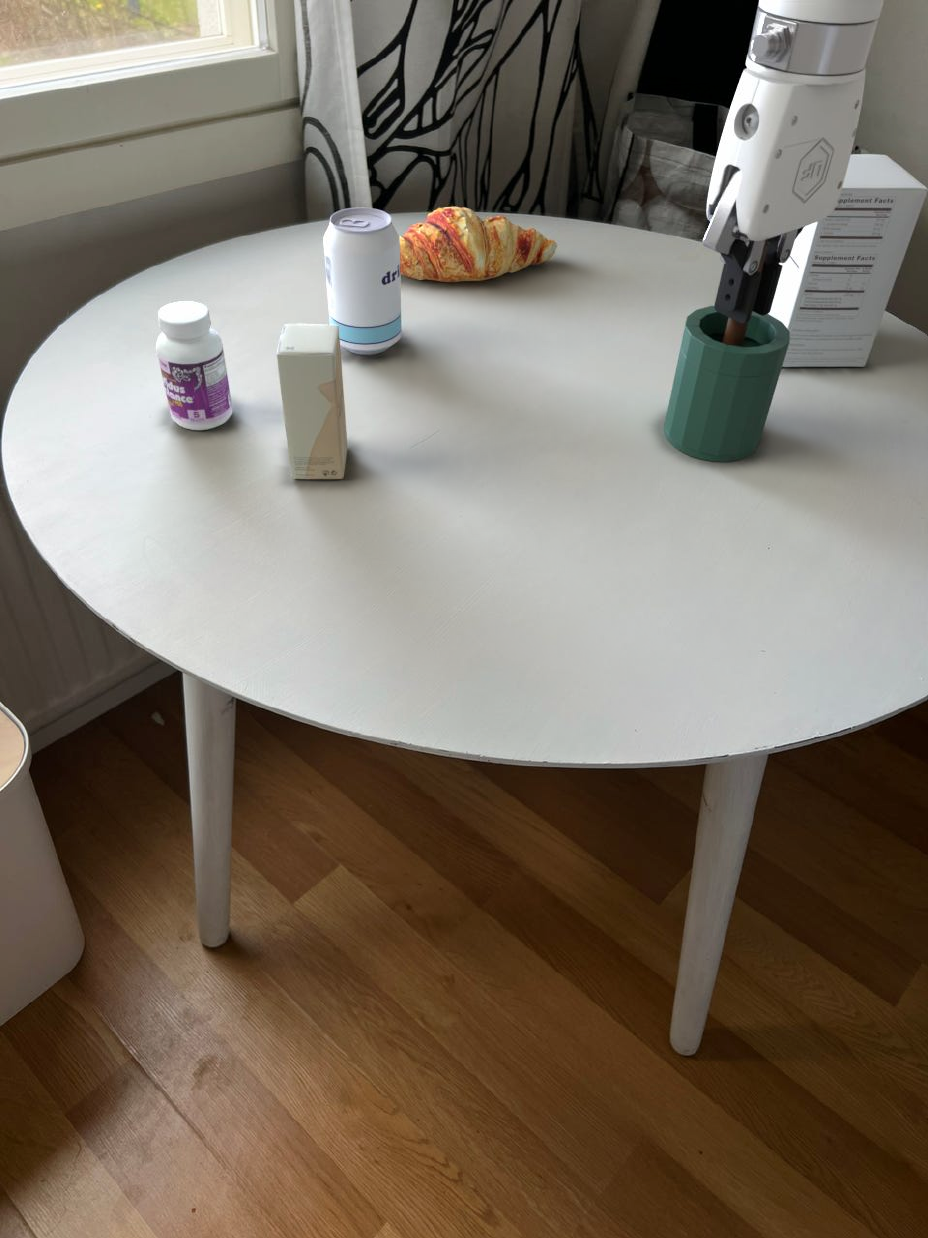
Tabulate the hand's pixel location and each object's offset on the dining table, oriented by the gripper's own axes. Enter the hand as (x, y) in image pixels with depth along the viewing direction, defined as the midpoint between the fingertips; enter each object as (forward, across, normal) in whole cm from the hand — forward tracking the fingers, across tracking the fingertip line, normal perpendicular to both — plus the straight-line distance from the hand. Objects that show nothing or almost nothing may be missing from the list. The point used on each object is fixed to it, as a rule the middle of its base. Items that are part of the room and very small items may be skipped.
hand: (741, 310), depth 72 cm
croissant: (+12, +3, +39) cm, 41 cm away
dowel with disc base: (+11, 0, 0) cm, 11 cm away
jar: (+11, 0, 0) cm, 11 cm away
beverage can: (+12, -16, +31) cm, 37 cm away
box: (+12, -30, +16) cm, 36 cm away
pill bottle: (+12, -35, +28) cm, 46 cm away
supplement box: (+12, +20, +6) cm, 24 cm away
